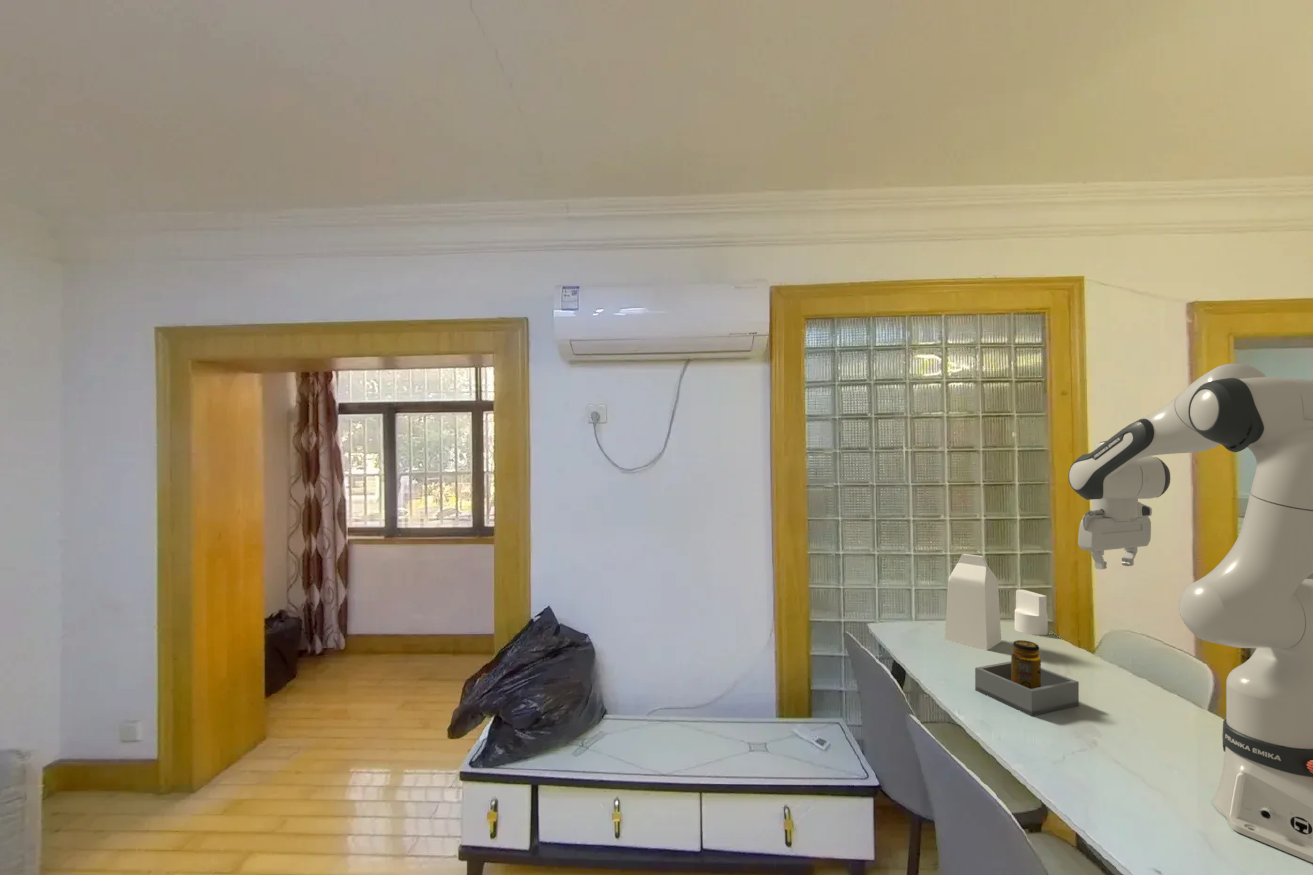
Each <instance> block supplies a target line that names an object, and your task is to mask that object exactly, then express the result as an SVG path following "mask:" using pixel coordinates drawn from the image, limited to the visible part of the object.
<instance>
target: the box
mask: <svg viewBox="0 0 1313 875" xmlns="http://www.w3.org/2000/svg"><path fill="white" fill-rule="evenodd" d="M974 669H975V670H974V672H975V674H974V675H975V676H974V679H975V681H974V684H975V685H974V687H975V690H974V691H976V692H978V693H980V694H983V695H985V696H987V695H988V696H987V697H989V696H990V697H989V698H991V697H992V698H991V699H993V698H994V700H995V699H996V700H995V701H998V702H1000V703H1001V704H1005V705H1007V706H1009V707H1011V708H1013V709H1016V710H1018V711H1019V710H1020V712H1022V713H1024V714H1025V715H1027V716H1031V717H1033V716H1038V715H1042V714H1043V715H1044V714H1046V713H1052V712H1057V711H1060V710H1064V709H1065V710H1066V709H1069V708H1074V707H1078V706H1079V704H1080V702H1079V700H1080V699H1079V698H1080V695H1079V692H1080V690H1079V686H1080V683H1079V681H1078V680H1075V679H1073V678H1070V677H1068V676H1064V675H1062V674H1059V673H1056V672H1054V671H1051V670H1049V669H1046V668H1043V667H1041V687H1038V688H1034V689H1029V688H1027V687H1025V686H1022V685H1020V684H1017V683H1015V682H1013V681H1011V661H1006V662H999V663H993V664H989V665H983V666H978V667H975V668H974Z"/></svg>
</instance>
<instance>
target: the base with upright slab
mask: <svg viewBox="0 0 1313 875" xmlns="http://www.w3.org/2000/svg"><path fill="white" fill-rule="evenodd" d="M1048 618H1049V617H1048V613H1047V595H1044V594H1040V593H1037V592H1033V591H1030V590H1026V589H1015V609H1014V630H1015V631H1016V632H1019V633H1021V634H1026V635H1031V636H1033V635H1034V636H1045V635H1047V634H1048V629H1049V628H1048V626H1049V624H1048V623H1049V622H1048V621H1049V620H1048Z"/></svg>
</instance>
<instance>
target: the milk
mask: <svg viewBox="0 0 1313 875" xmlns="http://www.w3.org/2000/svg"><path fill="white" fill-rule="evenodd" d="M998 581H999V580H998V579H997V577H996V575H995V574H994V572H993V571H992V570H991V568H990V567H989V566H988V563H987V560H986V558H985V556H983V555H977V554H968V553H962V554H961V555H960V557H959V560H958V561H957V563H956V565H955V567H954V568H953V570H952V571H951V573H950V575H949V577H948V580H947V592H946V594H947V595H946V612H945V629H944V630H945V633H944V641H945V640H949V641H952V642H951V643H953V642H956V643H955V644H957V643H960V644H959V645H962V644H963V646H965V647H966V646H967V647H970V646H971V648H974V649H979V650H983V649H985V650H984V651H988V649H989V650H990V649H992V648H993V647H995V646H996V645H999V643H1002V633H1001V632H1002V630H1001V614H1000V599H999V598H1000V595H999V594H1000V593H999V582H998ZM949 641H948V642H949Z"/></svg>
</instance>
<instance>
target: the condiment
mask: <svg viewBox="0 0 1313 875" xmlns="http://www.w3.org/2000/svg"><path fill="white" fill-rule="evenodd" d="M1012 645H1013V648H1012V652H1011V656H1010V658H1011V659H1010V660H1011V681H1013V682H1015V683H1017V684H1020V685H1022V686H1025V687H1027V688H1029V689H1034V688H1038V687H1041V668H1042V665H1041V663H1042V660H1041V659H1042V658H1041V656H1040V650H1039V649H1040V646H1039V644H1037V643H1035V642H1034V641H1031V640H1030V641H1029V640H1022V639H1020V640H1014V641H1013V643H1012Z"/></svg>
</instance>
